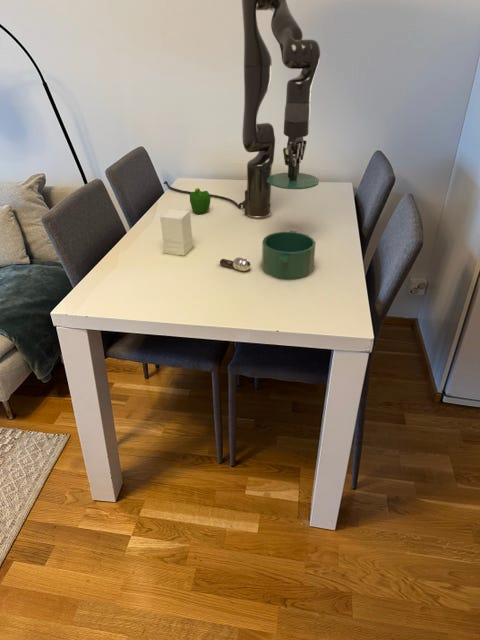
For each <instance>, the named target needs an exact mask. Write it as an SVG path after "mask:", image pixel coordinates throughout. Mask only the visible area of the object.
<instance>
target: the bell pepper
mask: <svg viewBox="0 0 480 640" xmlns="http://www.w3.org/2000/svg"><path fill="white" fill-rule="evenodd" d="M190 192H191V193H190V194H189V203H190V206H191V209H192V212H194V214H197V215H201V214H204V213H208V212H209V209H210V206H211V196H210V194H211V193H209V192H208V190H203V191H202V190H201V189H200V188H199V187H197V188H195V189H194V191H190Z"/></svg>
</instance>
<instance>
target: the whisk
mask: <svg viewBox="0 0 480 640" xmlns="http://www.w3.org/2000/svg"><path fill="white" fill-rule="evenodd" d="M219 264H220V266H222V267H225V268H229V269H233V270H234V269H235V270H237V271H240V272H247V271H249V270H250V268H251V262H250V260H249V259H248V258H244V257H239V256H238V257H236V258H234V259H233V260H231V259H226V258H220V260H219Z"/></svg>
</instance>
